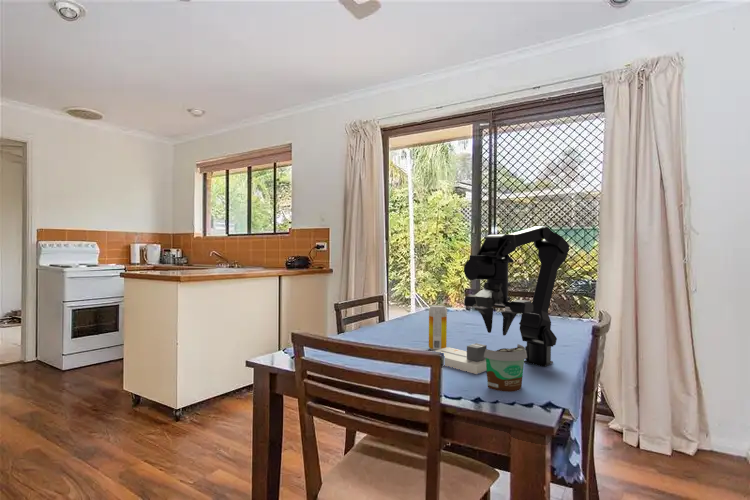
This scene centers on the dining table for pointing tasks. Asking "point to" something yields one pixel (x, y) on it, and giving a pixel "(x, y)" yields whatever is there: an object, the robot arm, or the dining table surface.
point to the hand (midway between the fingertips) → (496, 333)
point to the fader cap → (476, 352)
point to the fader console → (462, 360)
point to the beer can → (437, 327)
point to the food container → (505, 368)
